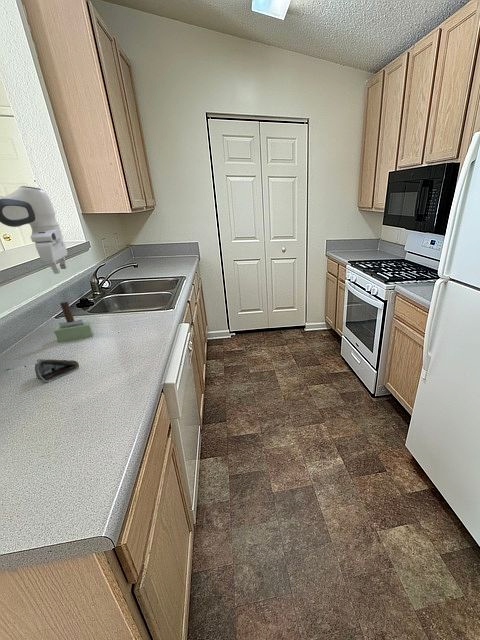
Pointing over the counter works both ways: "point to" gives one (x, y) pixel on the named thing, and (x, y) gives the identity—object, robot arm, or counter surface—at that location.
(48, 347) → the counter surface
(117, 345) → the counter surface
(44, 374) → the dark grey triangular holder
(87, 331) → the stand
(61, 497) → the counter surface
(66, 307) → the cake cutter
